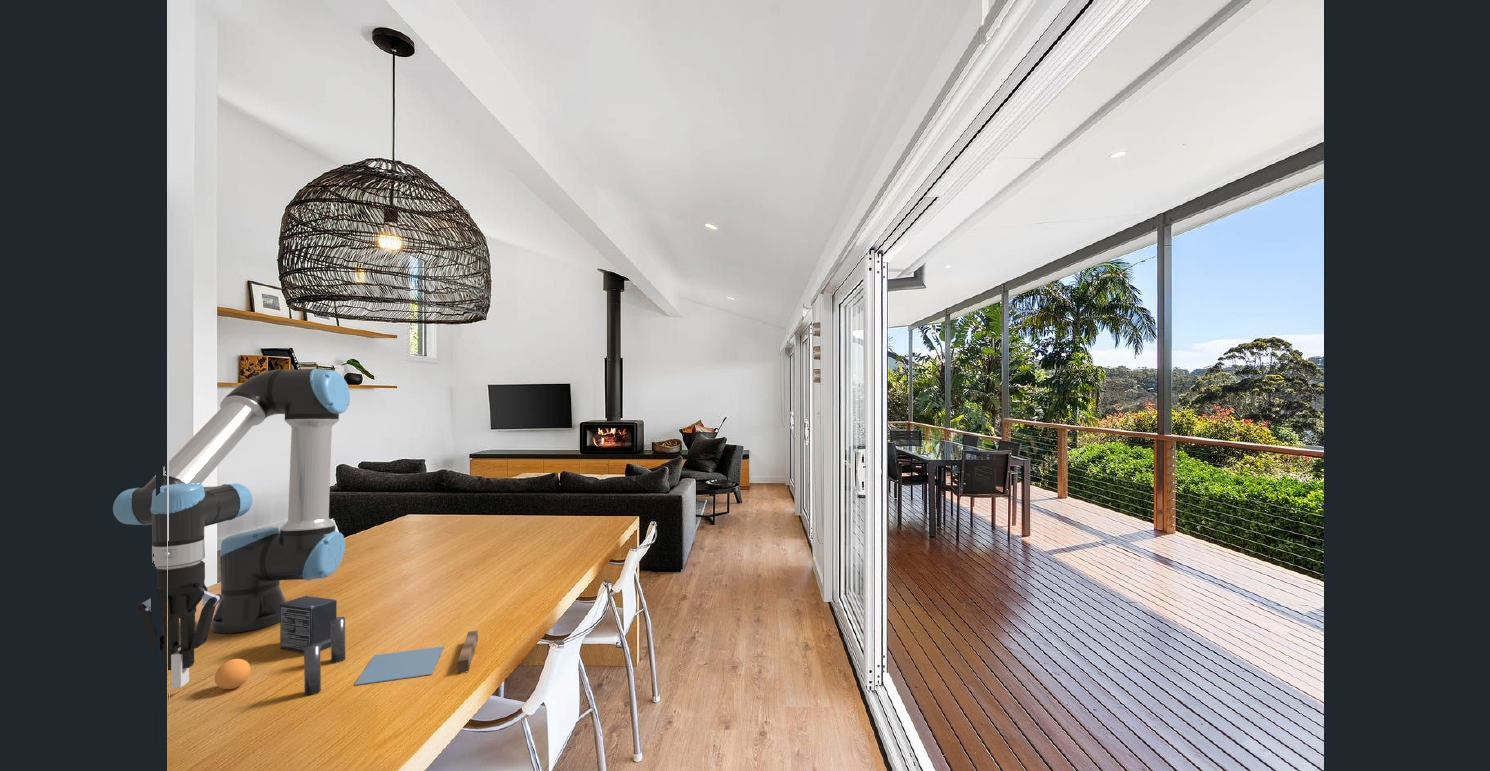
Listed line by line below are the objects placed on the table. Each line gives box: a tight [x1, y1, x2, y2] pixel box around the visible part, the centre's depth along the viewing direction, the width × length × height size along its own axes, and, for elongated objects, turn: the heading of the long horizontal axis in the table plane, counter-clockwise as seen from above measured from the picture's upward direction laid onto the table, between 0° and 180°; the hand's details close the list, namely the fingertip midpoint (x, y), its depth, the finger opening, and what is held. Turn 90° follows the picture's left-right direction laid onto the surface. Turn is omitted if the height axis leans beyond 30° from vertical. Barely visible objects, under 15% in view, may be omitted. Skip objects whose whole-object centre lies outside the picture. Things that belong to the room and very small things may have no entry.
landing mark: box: [354, 645, 445, 687], centre depth 130 cm, size 14×14×1 cm
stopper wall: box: [457, 630, 479, 674], centre depth 133 cm, size 16×2×2 cm, turn 17°
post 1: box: [303, 643, 322, 697], centre depth 118 cm, size 3×3×9 cm
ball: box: [214, 658, 252, 690], centre depth 121 cm, size 6×6×6 cm
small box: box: [279, 595, 338, 654], centre depth 140 cm, size 11×6×10 cm, turn 71°
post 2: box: [330, 616, 346, 664], centre depth 132 cm, size 3×3×9 cm
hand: (180, 684), depth 118 cm, fingers closed
